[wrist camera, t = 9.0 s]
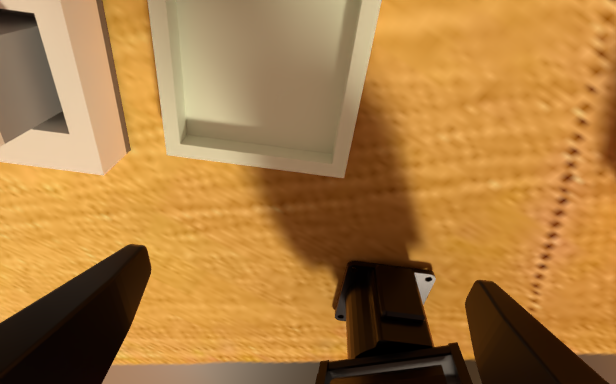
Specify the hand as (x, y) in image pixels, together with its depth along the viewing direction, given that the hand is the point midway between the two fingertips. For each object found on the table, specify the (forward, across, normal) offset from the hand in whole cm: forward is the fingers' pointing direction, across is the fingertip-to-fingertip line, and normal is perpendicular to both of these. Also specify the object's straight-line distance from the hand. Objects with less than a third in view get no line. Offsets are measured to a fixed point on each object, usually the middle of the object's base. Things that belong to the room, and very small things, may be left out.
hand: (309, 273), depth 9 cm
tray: (+12, +3, -2) cm, 12 cm away
